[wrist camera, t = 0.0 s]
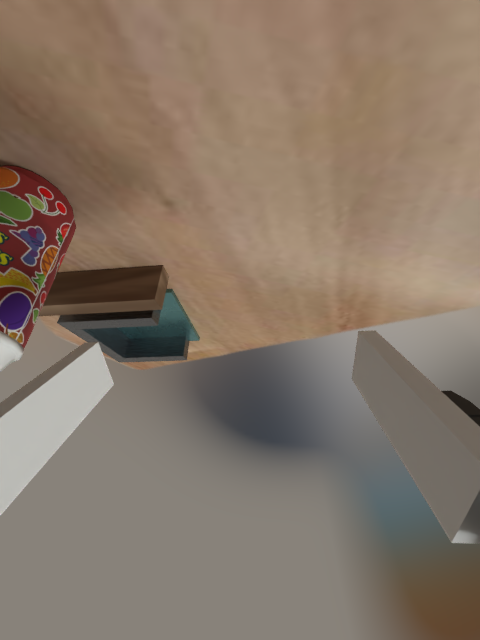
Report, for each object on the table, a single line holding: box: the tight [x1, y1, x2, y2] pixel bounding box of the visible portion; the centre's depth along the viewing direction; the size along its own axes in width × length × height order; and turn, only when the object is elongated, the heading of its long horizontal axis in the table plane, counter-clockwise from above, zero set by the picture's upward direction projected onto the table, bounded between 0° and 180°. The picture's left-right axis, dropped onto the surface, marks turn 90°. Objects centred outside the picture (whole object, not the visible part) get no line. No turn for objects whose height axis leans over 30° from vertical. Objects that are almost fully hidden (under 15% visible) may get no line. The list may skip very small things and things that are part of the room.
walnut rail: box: [39, 265, 169, 316], centre depth 28 cm, size 2×16×5 cm, turn 95°
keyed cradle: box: [57, 289, 200, 362], centre depth 37 cm, size 15×15×4 cm
